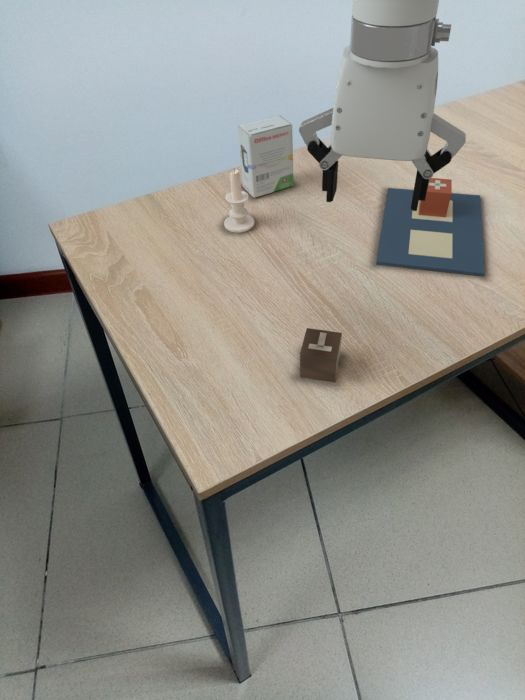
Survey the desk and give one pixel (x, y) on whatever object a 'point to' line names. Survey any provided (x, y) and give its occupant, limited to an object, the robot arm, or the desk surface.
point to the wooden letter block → (320, 354)
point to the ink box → (266, 155)
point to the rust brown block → (436, 198)
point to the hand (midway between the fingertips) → (372, 200)
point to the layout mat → (432, 235)
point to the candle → (237, 207)
